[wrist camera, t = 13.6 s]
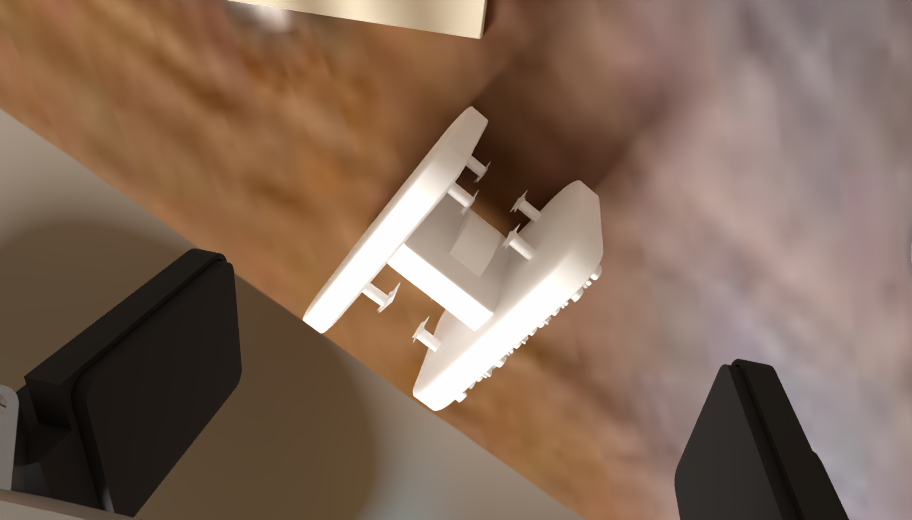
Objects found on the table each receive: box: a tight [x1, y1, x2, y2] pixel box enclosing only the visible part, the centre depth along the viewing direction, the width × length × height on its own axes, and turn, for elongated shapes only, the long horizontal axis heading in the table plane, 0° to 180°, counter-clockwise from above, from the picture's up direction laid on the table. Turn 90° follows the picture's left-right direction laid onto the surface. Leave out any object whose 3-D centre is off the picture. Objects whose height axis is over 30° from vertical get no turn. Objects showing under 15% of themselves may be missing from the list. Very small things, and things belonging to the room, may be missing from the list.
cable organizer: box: [303, 106, 603, 411], centre depth 36 cm, size 15×11×12 cm
